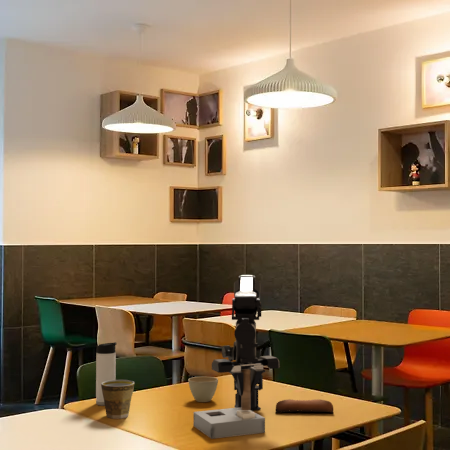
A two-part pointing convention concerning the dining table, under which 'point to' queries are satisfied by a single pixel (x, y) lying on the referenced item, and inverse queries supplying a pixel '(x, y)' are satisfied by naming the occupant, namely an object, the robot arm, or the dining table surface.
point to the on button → (245, 414)
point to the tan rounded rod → (246, 390)
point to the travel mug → (104, 368)
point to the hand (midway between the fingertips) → (245, 394)
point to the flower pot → (203, 388)
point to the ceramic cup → (117, 397)
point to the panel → (227, 423)
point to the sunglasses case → (304, 406)
